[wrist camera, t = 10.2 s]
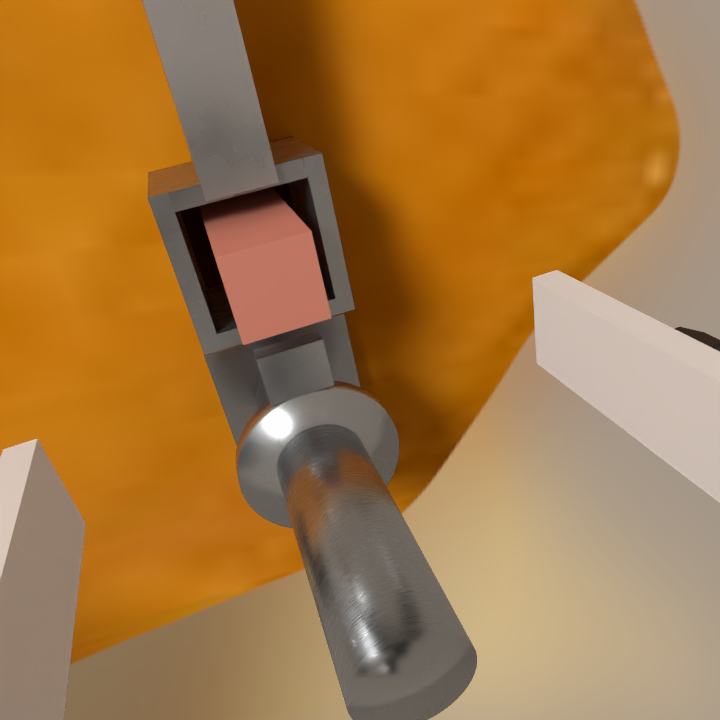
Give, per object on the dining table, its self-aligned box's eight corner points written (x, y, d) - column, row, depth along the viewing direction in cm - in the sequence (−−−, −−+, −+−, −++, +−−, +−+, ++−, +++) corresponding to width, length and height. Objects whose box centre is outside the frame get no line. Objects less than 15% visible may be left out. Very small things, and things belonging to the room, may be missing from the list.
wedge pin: (218, 267, 32) (242, 345, 23) (196, 200, 30) (214, 257, 21) (284, 248, 32) (331, 317, 24) (266, 181, 31) (311, 230, 22)
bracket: (196, 307, 32) (205, 359, 27) (31, -160, 23) (-8, -229, 17) (323, 270, 34) (358, 312, 28) (218, -188, 24) (238, -261, 18)
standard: (243, 459, 37) (320, 799, 20) (188, 309, 32) (230, 595, 15) (364, 418, 39) (532, 704, 22) (330, 268, 34) (515, 487, 17)
